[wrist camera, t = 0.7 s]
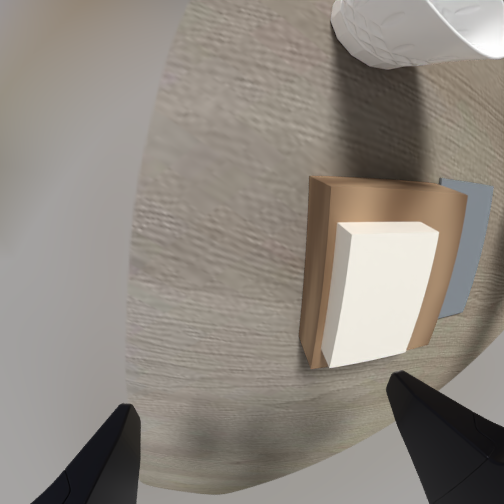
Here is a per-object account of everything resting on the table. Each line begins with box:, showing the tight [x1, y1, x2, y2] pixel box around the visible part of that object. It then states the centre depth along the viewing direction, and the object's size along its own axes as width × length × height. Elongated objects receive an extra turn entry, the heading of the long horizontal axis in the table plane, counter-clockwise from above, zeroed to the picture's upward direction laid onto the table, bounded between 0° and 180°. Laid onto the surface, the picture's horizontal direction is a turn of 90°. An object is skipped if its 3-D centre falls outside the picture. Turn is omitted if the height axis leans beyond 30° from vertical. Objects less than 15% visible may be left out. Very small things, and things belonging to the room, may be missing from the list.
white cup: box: [331, 0, 504, 70], centre depth 10 cm, size 8×8×10 cm
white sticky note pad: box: [321, 222, 439, 368], centre depth 16 cm, size 6×9×2 cm, turn 1°
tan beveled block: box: [299, 176, 468, 369], centre depth 19 cm, size 11×13×4 cm
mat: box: [438, 178, 494, 318], centre depth 22 cm, size 8×14×1 cm, turn 1°
